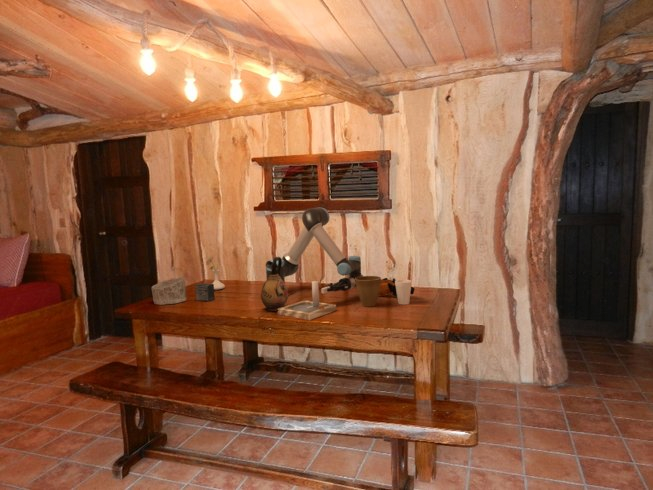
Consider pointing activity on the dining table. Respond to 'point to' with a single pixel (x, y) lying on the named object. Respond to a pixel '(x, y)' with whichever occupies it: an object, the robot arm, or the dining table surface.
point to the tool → (389, 288)
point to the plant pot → (368, 289)
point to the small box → (204, 292)
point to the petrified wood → (169, 291)
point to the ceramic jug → (274, 287)
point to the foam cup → (403, 291)
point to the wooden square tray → (321, 311)
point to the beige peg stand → (315, 296)
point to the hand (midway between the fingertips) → (322, 291)
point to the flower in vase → (216, 282)
